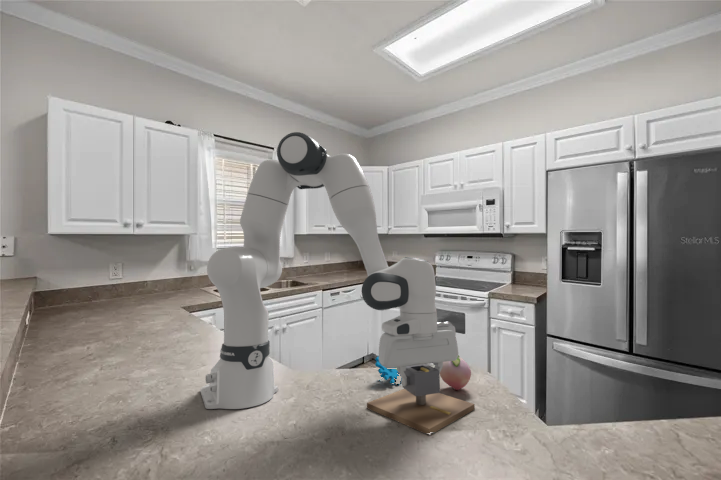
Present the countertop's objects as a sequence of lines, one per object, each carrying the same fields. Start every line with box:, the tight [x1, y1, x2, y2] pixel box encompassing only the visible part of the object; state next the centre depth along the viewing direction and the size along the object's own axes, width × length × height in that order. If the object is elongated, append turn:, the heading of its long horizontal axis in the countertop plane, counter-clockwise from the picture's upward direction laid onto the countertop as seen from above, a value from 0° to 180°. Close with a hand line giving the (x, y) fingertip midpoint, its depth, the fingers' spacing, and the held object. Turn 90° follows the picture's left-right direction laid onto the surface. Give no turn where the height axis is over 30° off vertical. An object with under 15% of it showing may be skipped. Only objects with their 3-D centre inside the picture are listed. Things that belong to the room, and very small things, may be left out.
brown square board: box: [366, 388, 475, 434], centre depth 76 cm, size 18×18×7 cm
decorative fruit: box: [439, 354, 472, 391], centre depth 89 cm, size 9×8×10 cm
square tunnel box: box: [402, 364, 441, 396], centre depth 77 cm, size 6×6×5 cm
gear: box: [374, 355, 399, 384], centre depth 96 cm, size 11×6×10 cm
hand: (420, 382), depth 77 cm, fingers closed on square tunnel box, 6 cm apart
